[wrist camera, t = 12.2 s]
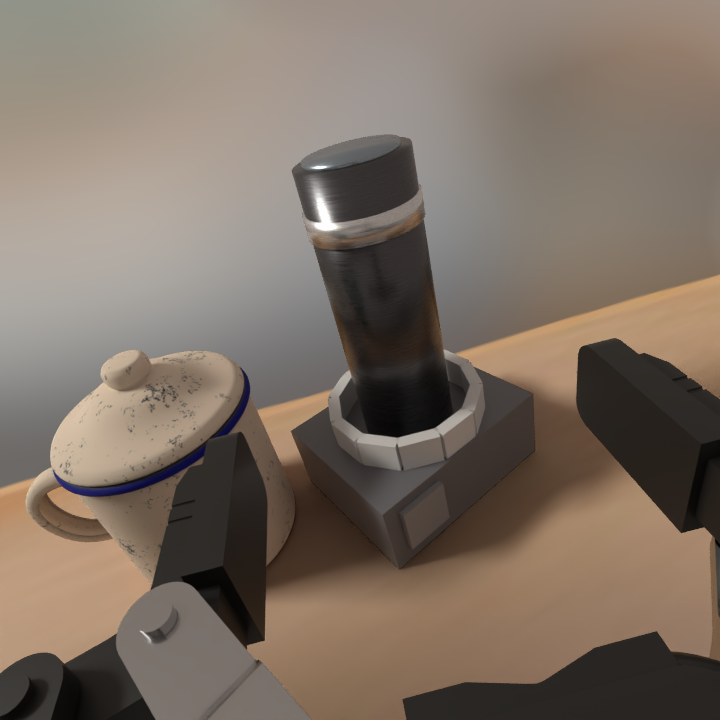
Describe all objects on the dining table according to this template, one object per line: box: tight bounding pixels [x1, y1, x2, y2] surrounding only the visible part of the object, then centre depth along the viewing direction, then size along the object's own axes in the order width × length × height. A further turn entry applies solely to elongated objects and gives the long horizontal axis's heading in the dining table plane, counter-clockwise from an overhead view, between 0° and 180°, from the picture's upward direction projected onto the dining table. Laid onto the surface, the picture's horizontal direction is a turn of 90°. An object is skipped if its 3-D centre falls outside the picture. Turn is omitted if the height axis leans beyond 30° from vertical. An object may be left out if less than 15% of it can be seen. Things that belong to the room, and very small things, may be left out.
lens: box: [292, 135, 453, 438], centre depth 22 cm, size 5×5×13 cm
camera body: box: [291, 350, 535, 569], centre depth 26 cm, size 10×8×6 cm
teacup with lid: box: [25, 350, 295, 585], centre depth 24 cm, size 12×9×12 cm
